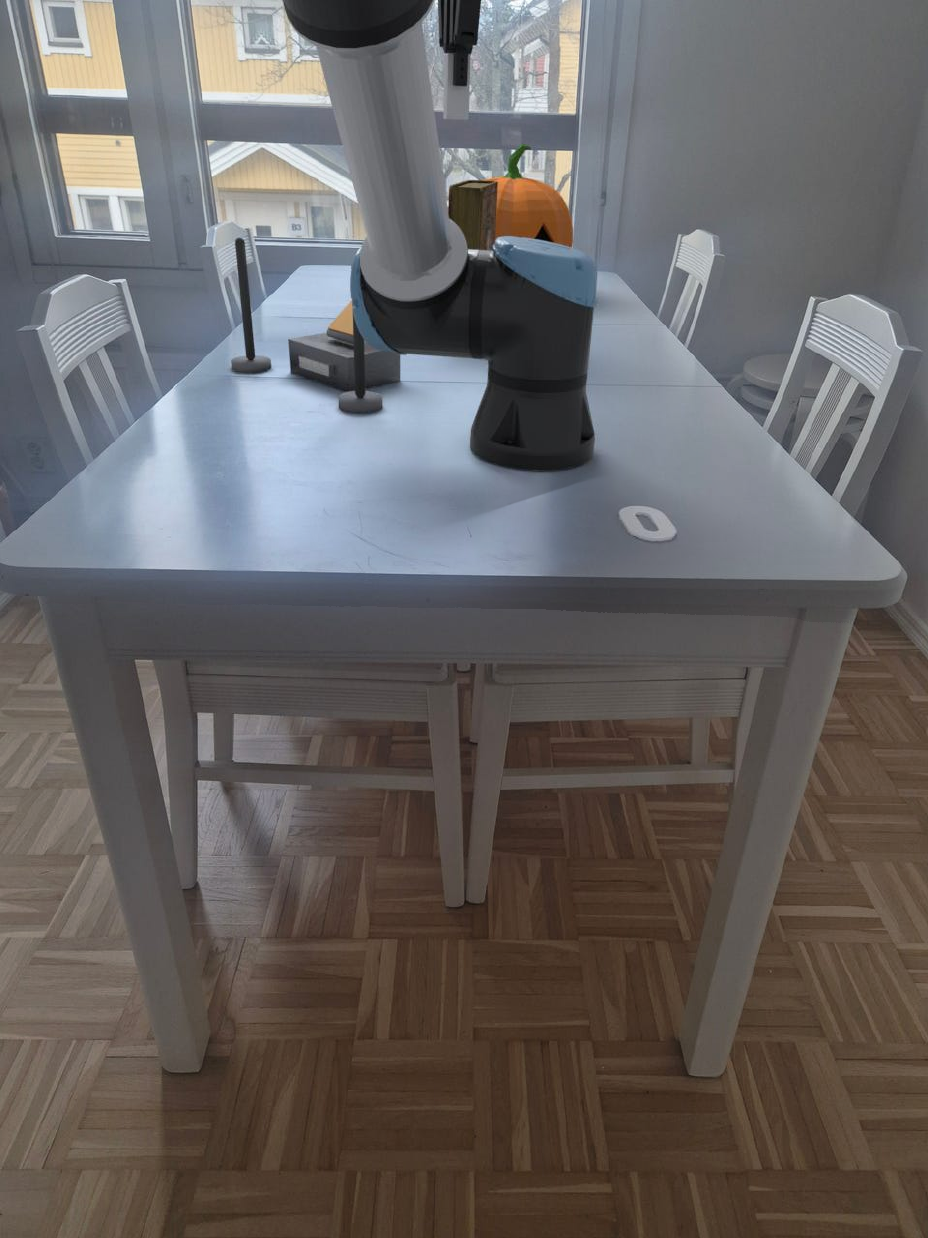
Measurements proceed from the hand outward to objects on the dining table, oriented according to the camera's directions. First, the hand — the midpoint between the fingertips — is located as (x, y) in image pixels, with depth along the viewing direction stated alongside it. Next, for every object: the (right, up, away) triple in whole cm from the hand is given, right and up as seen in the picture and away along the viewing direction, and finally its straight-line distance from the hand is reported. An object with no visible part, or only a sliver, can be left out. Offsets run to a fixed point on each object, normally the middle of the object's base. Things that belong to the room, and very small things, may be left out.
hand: (455, 119), depth 100 cm
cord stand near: (-13, -30, +15) cm, 36 cm away
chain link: (+19, -51, -15) cm, 56 cm away
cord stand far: (-32, -21, +30) cm, 49 cm away
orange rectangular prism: (-17, -18, +25) cm, 35 cm away
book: (+2, -8, +54) cm, 55 cm away
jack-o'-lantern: (+11, +15, +93) cm, 94 cm away
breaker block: (-17, -23, +28) cm, 40 cm away
